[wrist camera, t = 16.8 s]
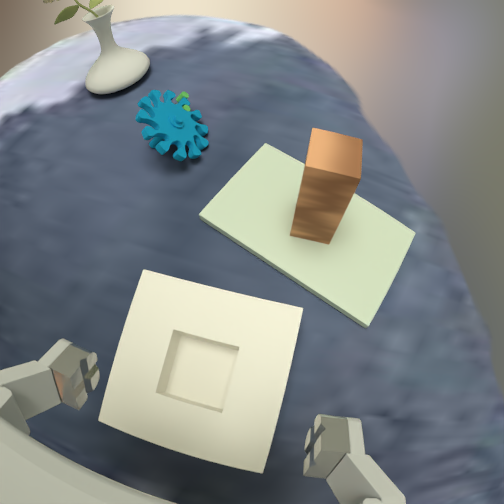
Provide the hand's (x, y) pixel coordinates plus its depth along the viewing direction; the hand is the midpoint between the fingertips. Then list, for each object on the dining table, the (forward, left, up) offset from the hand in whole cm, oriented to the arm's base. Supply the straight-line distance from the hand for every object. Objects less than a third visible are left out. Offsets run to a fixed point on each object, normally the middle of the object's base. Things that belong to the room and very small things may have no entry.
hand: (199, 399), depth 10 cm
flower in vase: (-43, +24, -18) cm, 52 cm away
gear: (-23, +19, -19) cm, 35 cm away
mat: (-3, +18, -18) cm, 26 cm away
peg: (-3, +18, -17) cm, 25 cm away
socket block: (-3, 0, -18) cm, 18 cm away
